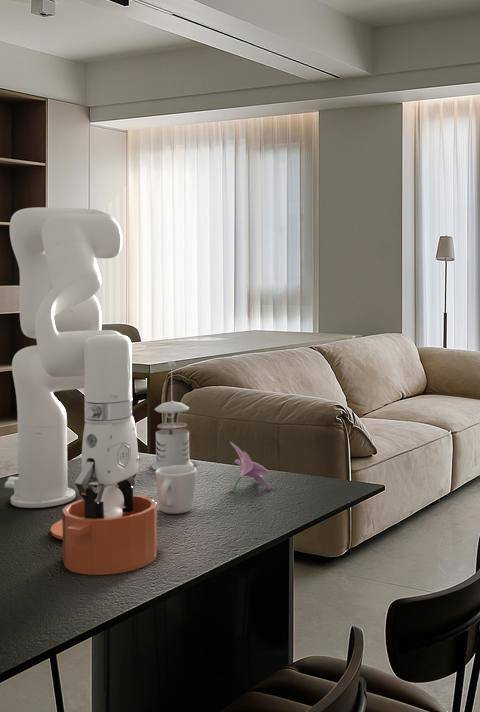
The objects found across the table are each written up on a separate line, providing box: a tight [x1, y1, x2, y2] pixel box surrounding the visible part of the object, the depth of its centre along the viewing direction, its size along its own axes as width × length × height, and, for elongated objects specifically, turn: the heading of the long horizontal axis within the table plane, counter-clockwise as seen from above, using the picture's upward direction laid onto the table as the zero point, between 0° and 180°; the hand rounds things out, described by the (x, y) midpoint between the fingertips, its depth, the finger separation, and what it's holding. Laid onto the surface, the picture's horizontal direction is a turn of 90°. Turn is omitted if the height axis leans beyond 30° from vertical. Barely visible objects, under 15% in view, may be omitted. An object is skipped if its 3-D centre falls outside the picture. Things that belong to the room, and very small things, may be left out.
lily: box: [229, 441, 271, 493], centre depth 181 cm, size 12×12×10 cm
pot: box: [61, 494, 158, 576], centre depth 139 cm, size 15×20×8 cm
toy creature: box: [101, 485, 125, 518], centre depth 139 cm, size 5×8×6 cm, turn 0°
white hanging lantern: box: [151, 360, 194, 471], centre depth 204 cm, size 10×12×25 cm
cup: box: [154, 465, 198, 515], centre depth 165 cm, size 11×8×8 cm
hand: (109, 518), depth 139 cm, fingers closed on toy creature, 7 cm apart
